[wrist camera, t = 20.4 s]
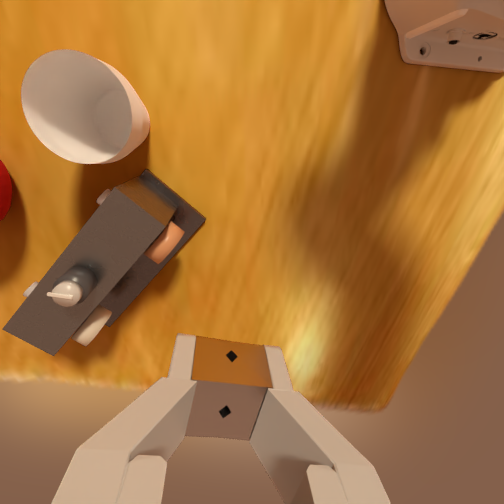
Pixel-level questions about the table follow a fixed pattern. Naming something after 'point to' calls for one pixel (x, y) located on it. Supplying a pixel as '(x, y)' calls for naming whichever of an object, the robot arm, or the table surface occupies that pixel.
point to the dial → (73, 286)
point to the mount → (107, 260)
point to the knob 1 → (90, 324)
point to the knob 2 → (163, 240)
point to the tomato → (4, 191)
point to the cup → (83, 108)
